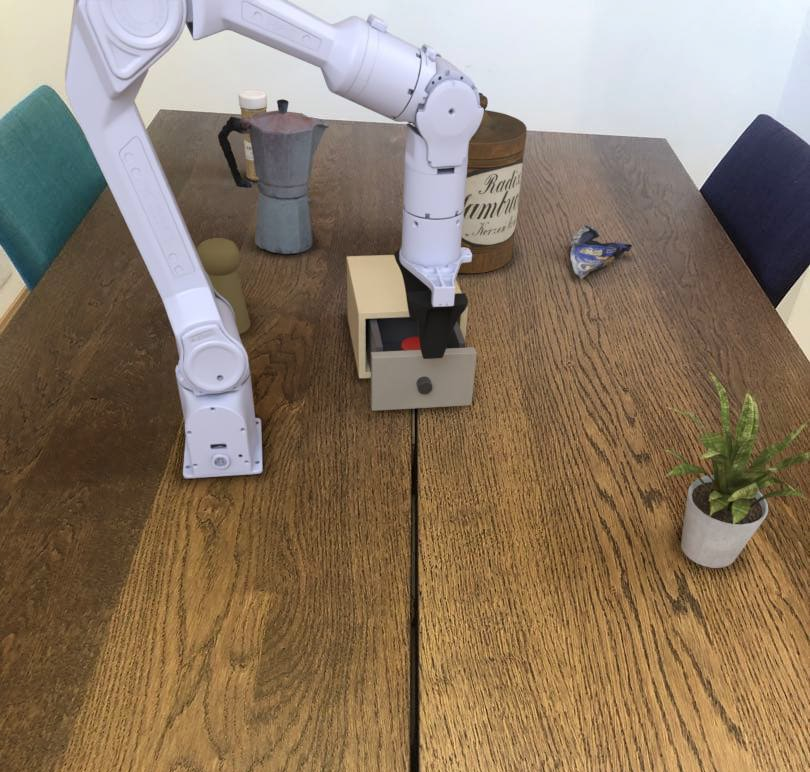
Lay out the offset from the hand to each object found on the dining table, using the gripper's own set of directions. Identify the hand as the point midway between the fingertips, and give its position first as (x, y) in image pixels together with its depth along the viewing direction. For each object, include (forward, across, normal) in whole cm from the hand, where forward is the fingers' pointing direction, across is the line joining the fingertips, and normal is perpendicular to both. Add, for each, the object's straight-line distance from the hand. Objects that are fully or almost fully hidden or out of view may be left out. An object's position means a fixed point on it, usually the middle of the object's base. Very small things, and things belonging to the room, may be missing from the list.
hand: (426, 337), depth 86 cm
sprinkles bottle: (+10, +75, +16) cm, 77 cm away
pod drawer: (+9, +6, 0) cm, 11 cm away
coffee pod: (+8, +5, 0) cm, 9 cm away
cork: (+10, +23, +22) cm, 33 cm away
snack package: (+10, +36, -32) cm, 50 cm away
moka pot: (+10, +47, +14) cm, 50 cm away
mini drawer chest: (+10, +16, 0) cm, 18 cm away
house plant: (+10, -24, -23) cm, 34 cm away
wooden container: (+10, +42, -13) cm, 45 cm away
